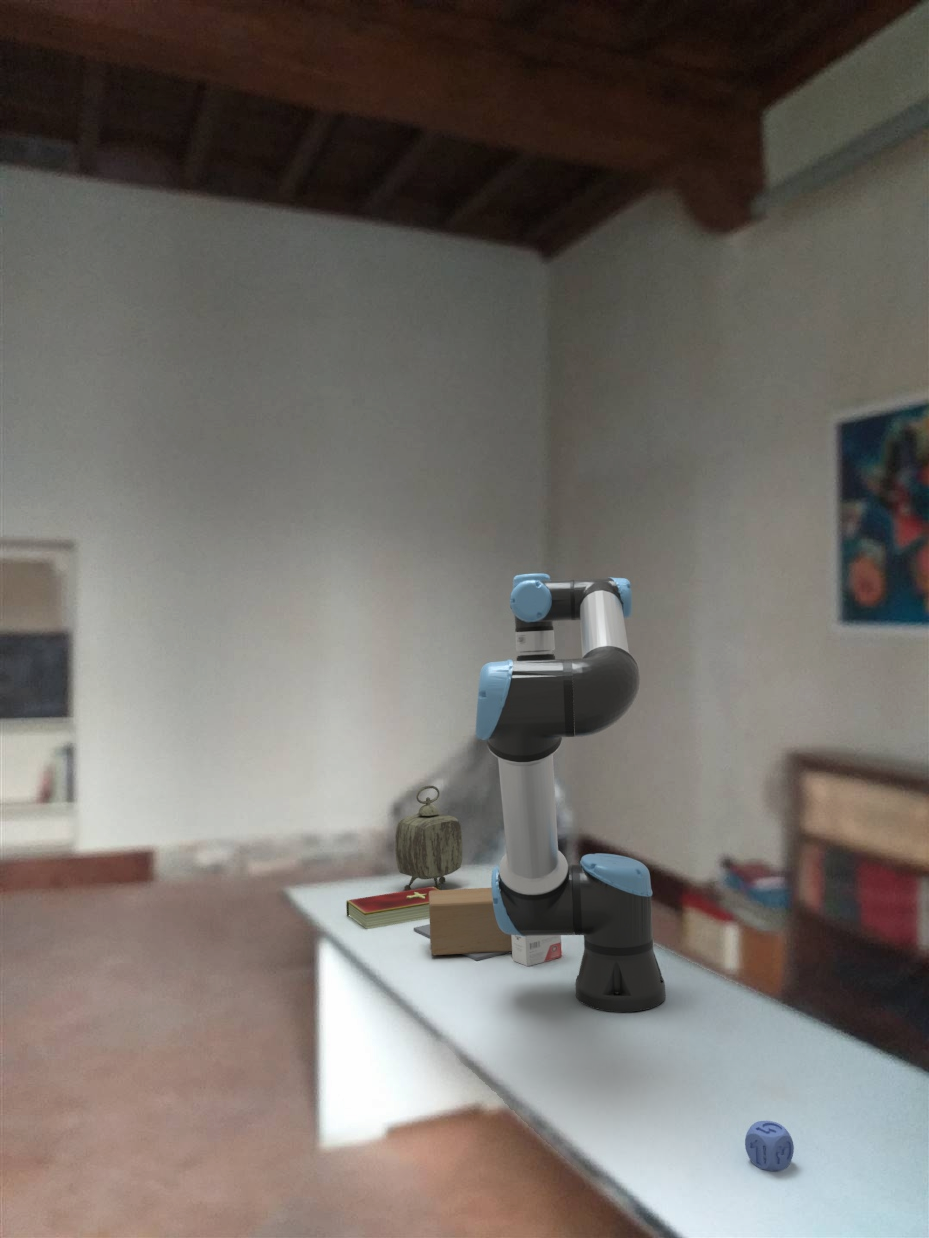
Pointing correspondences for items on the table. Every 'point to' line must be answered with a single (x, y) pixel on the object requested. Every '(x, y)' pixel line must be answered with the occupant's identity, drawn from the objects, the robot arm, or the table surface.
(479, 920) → the wooden block
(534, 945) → the ink cartridge box
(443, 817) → the tabletop clock
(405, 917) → the hardcover book
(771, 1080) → the table surface
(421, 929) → the mat
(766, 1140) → the decorative dice
